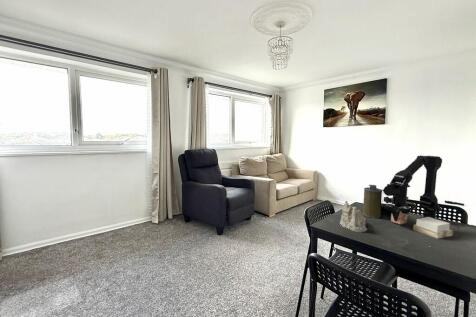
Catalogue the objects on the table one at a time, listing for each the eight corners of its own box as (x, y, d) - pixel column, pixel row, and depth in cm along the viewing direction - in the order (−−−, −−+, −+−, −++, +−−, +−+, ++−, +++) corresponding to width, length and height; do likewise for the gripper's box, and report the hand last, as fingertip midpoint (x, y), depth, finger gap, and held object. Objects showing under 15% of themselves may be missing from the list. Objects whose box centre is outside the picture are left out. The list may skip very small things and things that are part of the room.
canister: (361, 215, 152) (362, 185, 150) (363, 211, 161) (365, 182, 159) (380, 219, 146) (382, 187, 144) (382, 214, 154) (384, 185, 152)
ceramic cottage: (355, 233, 125) (357, 205, 125) (333, 223, 141) (335, 198, 140) (377, 231, 130) (379, 204, 130) (354, 221, 146) (355, 198, 145)
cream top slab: (428, 222, 133) (428, 216, 132) (449, 229, 123) (449, 223, 123) (416, 225, 129) (416, 219, 129) (437, 232, 120) (437, 225, 119)
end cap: (397, 214, 155) (398, 204, 155) (397, 217, 150) (398, 207, 149) (379, 211, 161) (380, 202, 160) (379, 214, 155) (379, 204, 154)
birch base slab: (427, 227, 134) (428, 222, 134) (452, 236, 123) (453, 230, 123) (413, 230, 130) (413, 224, 130) (437, 239, 119) (437, 233, 119)
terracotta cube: (397, 219, 143) (398, 211, 142) (406, 223, 137) (407, 214, 137) (391, 221, 141) (391, 212, 140) (399, 224, 136) (400, 215, 135)
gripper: (399, 190, 148) (397, 214, 150) (376, 192, 142) (375, 217, 144) (417, 194, 137) (415, 220, 139) (394, 197, 131) (392, 224, 133)
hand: (398, 220), depth 139 cm, fingers closed on terracotta cube, 5 cm apart
